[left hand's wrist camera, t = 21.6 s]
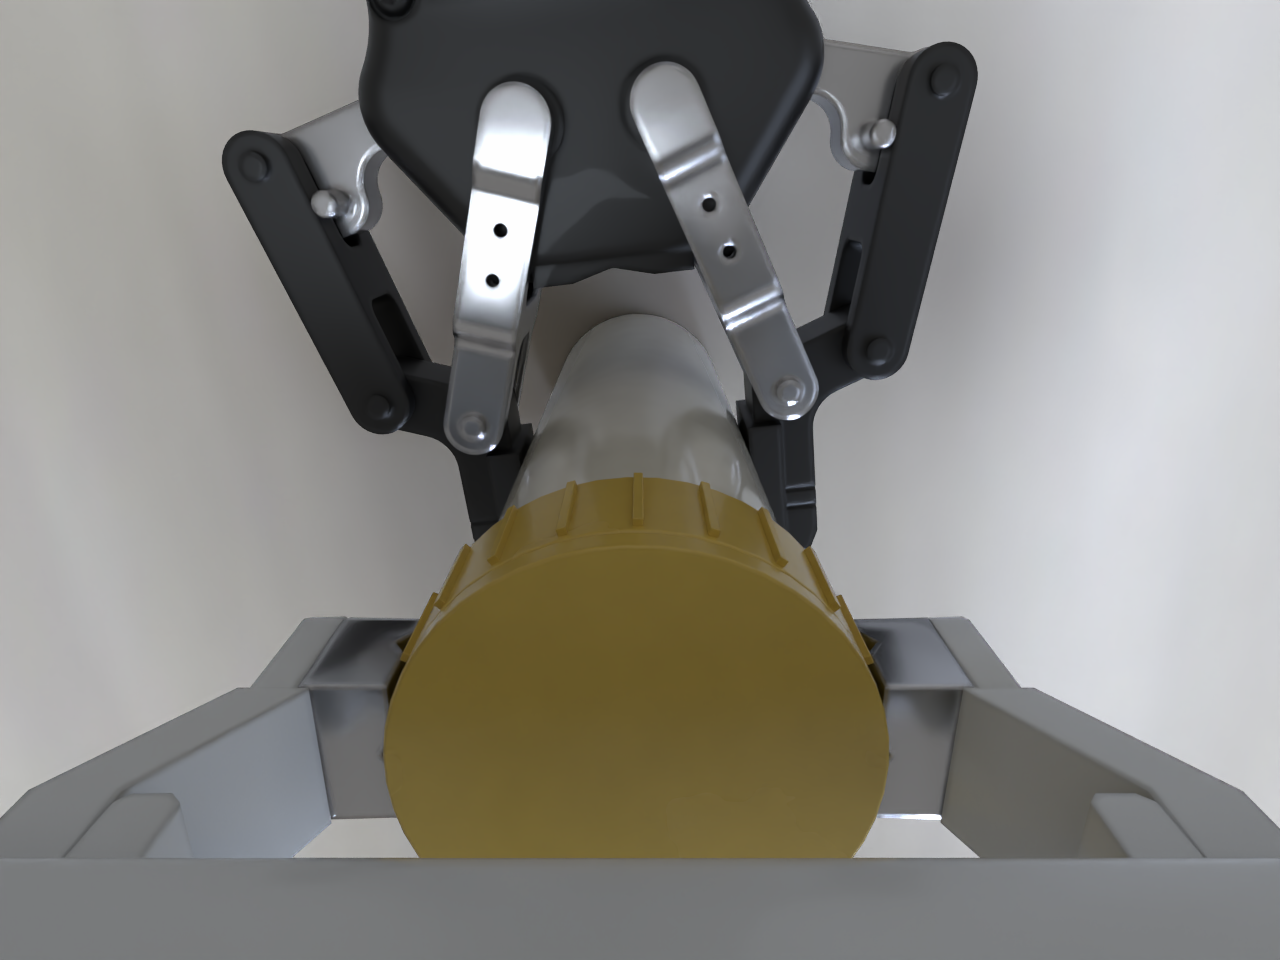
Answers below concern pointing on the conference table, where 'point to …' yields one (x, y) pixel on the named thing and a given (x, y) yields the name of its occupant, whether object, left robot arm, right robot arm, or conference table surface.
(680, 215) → the right robot arm
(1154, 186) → the conference table surface
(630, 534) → the lid
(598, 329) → the jar
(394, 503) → the conference table surface
